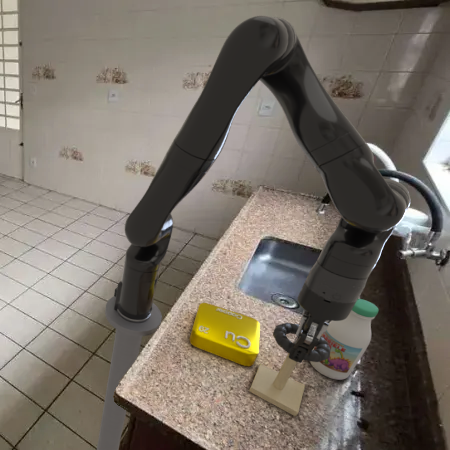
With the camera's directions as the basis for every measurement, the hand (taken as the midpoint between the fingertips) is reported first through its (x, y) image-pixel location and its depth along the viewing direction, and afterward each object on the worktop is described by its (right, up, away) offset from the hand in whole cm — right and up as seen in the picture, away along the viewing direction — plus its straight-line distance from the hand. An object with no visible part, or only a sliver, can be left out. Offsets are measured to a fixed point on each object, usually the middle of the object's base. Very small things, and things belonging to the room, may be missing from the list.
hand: (296, 354), depth 71 cm
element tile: (-2, -4, +23) cm, 24 cm away
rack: (+3, -12, +9) cm, 15 cm away
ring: (+2, +2, +2) cm, 4 cm away
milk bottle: (+19, -9, +15) cm, 26 cm away
